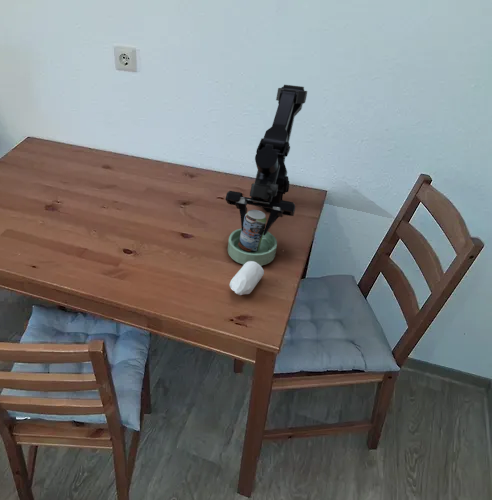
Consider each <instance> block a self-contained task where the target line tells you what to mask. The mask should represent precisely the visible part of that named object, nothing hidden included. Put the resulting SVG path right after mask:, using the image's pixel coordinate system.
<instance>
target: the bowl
mask: <svg viewBox="0 0 492 500" xmlns="http://www.w3.org/2000/svg"><path fill="white" fill-rule="evenodd" d="M241 230H242V228H237V229H235V230H233V231H232V232H231V233H230V234H229V236H228V242H227V254H228V256H229V257H230V258H231V259H232V260H233V261H234V262H236V263H238V264H241V265H242V266H243V265H244V264H245V263H246V262H248V261H254V262H256V263H258V264H259V265H260V266H261V267H262V266H266V265H268V264H270V263H271V262H273V261H274V259H275V258H276V253H277V246H278V240H277V238H276V237H275V235H273V234H272V232H270V231H268V232H267V233H266V235H265V236H264V235H263V236H262V240H261V244H260V248H259V250H258V251H257V252H254V253H247V252H244V251H242V250H241V249H240V248H239V246H238V243H239V239H240V234H241ZM263 234H264V232H263Z"/></svg>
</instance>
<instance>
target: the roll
mask: <svg viewBox="0 0 492 500" xmlns="http://www.w3.org/2000/svg"><path fill="white" fill-rule="evenodd" d="M264 275H265V270H264V268H263V267H262V266H260V265H259V264H258V263H256V262H254V261H248V262H246V263H245V264H244V265H243V264H242V266H241V268H240V269H239V270H238V271H237V272H236V274H234V275H233V277H232V279H230V282H229V288H230V289H231V290H232V291H233V292H234V294H236V295H238V296H242V295H250V294H251V293H252V292H253V290H254V289H255V288H256V286H257V285H258V284H259V282H260V281H261V279H262V278H263V277H264Z"/></svg>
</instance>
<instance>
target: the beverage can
mask: <svg viewBox="0 0 492 500" xmlns="http://www.w3.org/2000/svg"><path fill="white" fill-rule="evenodd" d="M266 224H267V217H266V213H265V212H264V211H262V210H258V209H249V210H247V214H246V215H245V217H244V222H243V231H242V230H241V234H240V239H239V243H238V246H239V248H240V249H241V250H242V251H244V252H247V253H254V252H257V251H258V250H259V248H260V244H261V240H262V236H263V232H264V229H265V227H266Z"/></svg>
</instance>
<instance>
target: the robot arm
mask: <svg viewBox="0 0 492 500" xmlns="http://www.w3.org/2000/svg"><path fill="white" fill-rule="evenodd" d="M307 97H308V91H307V90H305V86H300V85H292V84H283V86H281V87H278V88H277V93H276V97H275V101H277V103H278V104H277V108H276V111H275V115H274V118H273V121H272V124H271V126H270V127H269V128H268V129H267V130H266V131H265V133H264V136H263V137H262V138H260V140H259V143H258V146H257V148H256V150H255V151H256V154H255V156H254V162H255V166H256V168H257V171H256V175H255V179H254V183H252V184H251V185H250V191H249V196H243V193H242V192H240V191H234V190H229V191H227V193H226V195H225V202H226V203H227V205H232V206H235V208H236V209H237V210H239V214H240V226H241V228H242V231H243V222H244V217H245V215H246V214H247V213H248V207H247V205H250V206H256V207H261V208H262V209H263V210H264V211H265V212H268V213H269V216H268V218H267V220H266V225H265V229H264V234H263V235H264V236H265V235H266V233H267V232H269V230H270V229H271V227H272V226H273V225H274V223H275V222H276V221H277V220H278V219H279V218H283V216H289V217H294V215H295V211H296V204H295V202H294V201H289V200H285V199H284V198H283V197H284V195H286V193H289V190H290V180H289V176H288V170H287V167H286V164H285V163H286V162H285V161H286V157H288V155H289V154H290V151H291V145H290V139H291V134H292V130H293V126H294V122H295V117H296V116H297V115H298V114H299V113H300V112H301V111H302V109H303V105H304V104H306V100H307ZM241 228H240V229H241Z"/></svg>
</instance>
